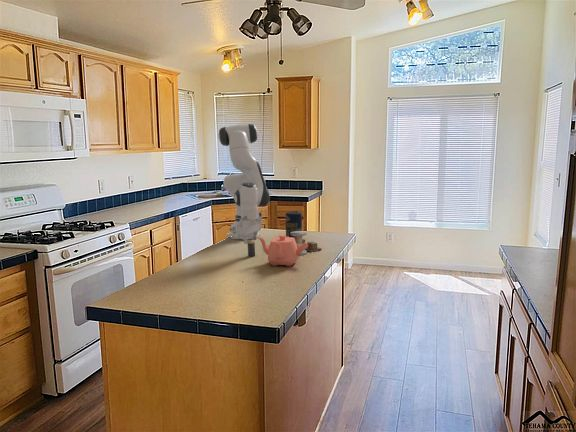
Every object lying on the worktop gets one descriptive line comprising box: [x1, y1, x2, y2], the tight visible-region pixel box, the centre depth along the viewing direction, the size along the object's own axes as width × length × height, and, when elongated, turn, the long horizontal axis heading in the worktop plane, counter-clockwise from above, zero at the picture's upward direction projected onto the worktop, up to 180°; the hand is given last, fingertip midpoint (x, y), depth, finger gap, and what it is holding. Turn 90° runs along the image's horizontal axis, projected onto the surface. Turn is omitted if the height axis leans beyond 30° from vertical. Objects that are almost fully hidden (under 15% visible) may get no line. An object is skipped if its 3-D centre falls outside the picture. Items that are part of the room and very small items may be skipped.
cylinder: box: [247, 239, 256, 258], centre depth 233 cm, size 4×4×8 cm
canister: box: [284, 210, 303, 239], centre depth 264 cm, size 10×10×18 cm
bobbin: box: [290, 230, 308, 256], centre depth 235 cm, size 8×8×11 cm
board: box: [302, 238, 323, 253], centre depth 247 cm, size 18×7×4 cm, turn 34°
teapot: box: [257, 234, 308, 267], centre depth 217 cm, size 18×18×14 cm
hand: (250, 241), depth 232 cm, fingers open, 8 cm apart
